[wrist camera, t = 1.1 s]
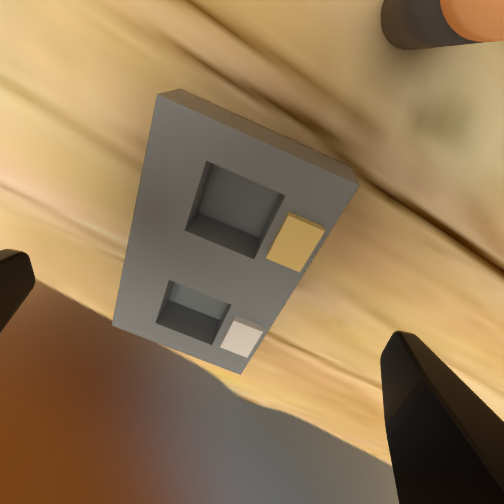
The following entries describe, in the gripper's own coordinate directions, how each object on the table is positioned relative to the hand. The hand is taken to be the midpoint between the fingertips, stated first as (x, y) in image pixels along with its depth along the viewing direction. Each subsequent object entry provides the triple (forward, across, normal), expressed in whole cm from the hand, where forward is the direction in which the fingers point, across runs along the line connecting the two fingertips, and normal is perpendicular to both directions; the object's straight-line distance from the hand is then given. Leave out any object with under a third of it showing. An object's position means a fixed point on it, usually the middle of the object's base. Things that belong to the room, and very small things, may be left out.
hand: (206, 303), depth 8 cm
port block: (+12, +2, +6) cm, 13 cm away
